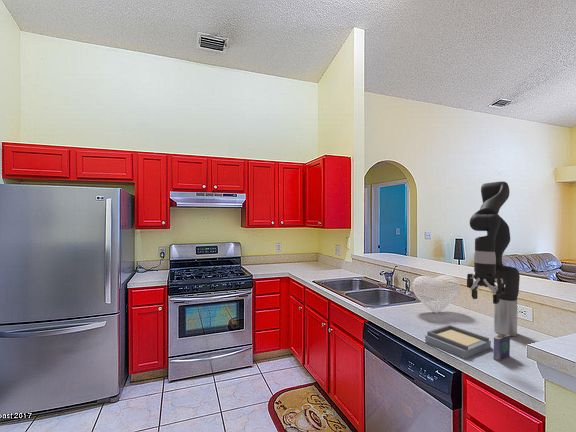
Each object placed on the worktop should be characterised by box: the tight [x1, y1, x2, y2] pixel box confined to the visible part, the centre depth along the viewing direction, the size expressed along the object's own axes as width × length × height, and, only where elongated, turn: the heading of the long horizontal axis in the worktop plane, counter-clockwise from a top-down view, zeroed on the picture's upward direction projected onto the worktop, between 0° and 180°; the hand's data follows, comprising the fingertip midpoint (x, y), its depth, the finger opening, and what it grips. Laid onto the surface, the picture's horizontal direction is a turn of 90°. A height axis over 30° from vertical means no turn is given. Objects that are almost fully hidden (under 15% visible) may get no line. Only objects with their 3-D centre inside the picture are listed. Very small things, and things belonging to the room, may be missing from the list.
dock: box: [424, 324, 492, 359], centre depth 134 cm, size 20×18×4 cm
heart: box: [411, 274, 461, 314], centre depth 177 cm, size 28×16×22 cm, turn 98°
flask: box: [493, 331, 511, 361], centre depth 122 cm, size 9×3×11 cm, turn 117°
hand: (484, 301), depth 123 cm, fingers open, 8 cm apart
